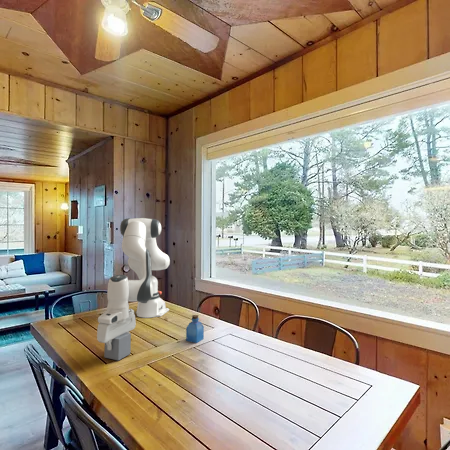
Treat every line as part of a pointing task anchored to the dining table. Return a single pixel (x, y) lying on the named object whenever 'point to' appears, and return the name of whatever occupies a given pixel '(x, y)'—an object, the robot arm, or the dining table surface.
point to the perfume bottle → (195, 330)
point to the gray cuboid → (119, 347)
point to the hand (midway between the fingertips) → (117, 345)
